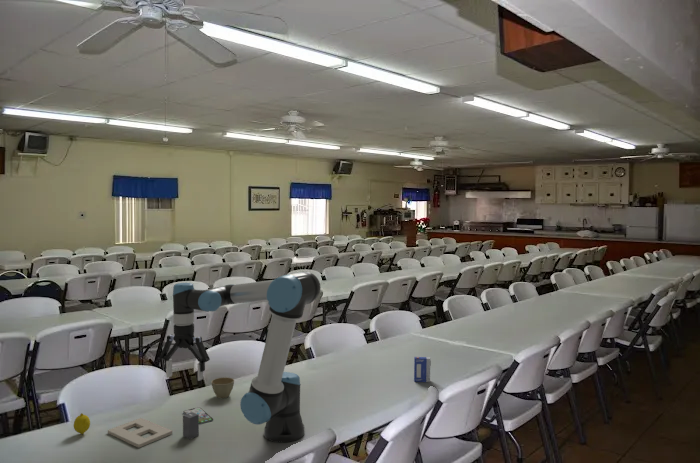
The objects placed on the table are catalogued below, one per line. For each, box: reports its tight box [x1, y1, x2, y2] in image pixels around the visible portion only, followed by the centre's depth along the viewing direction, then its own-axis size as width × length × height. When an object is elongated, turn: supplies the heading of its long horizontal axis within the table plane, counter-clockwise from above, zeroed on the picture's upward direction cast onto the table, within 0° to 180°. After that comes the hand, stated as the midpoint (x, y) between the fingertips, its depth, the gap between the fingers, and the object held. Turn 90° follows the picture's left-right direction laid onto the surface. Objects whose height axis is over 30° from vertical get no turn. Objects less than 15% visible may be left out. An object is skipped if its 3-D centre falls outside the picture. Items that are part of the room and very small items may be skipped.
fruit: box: [73, 413, 91, 435], centre depth 195 cm, size 6×6×8 cm
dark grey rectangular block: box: [182, 412, 200, 440], centre depth 195 cm, size 4×4×8 cm
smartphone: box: [183, 406, 214, 425], centre depth 213 cm, size 7×1×15 cm
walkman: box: [413, 356, 432, 383], centre depth 257 cm, size 8×3×12 cm, turn 86°
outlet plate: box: [107, 417, 173, 448], centre depth 197 cm, size 20×14×1 cm
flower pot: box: [210, 376, 235, 399], centre depth 235 cm, size 10×10×7 cm
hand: (184, 378), depth 201 cm, fingers open, 13 cm apart
